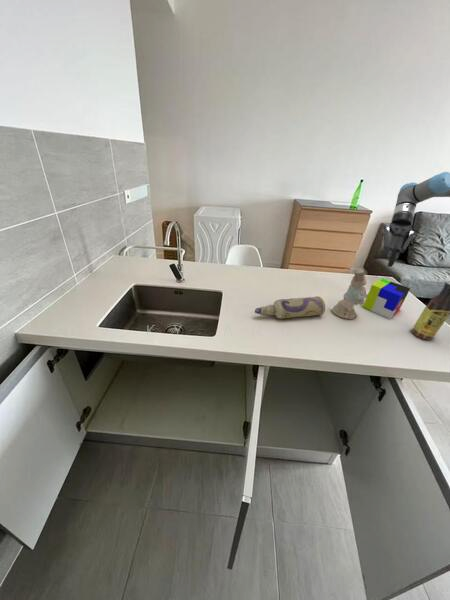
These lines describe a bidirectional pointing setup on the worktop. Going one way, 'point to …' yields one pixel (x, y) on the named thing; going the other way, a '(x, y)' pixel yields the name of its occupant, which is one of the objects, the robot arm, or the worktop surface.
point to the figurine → (352, 296)
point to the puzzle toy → (386, 297)
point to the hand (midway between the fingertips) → (390, 265)
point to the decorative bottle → (294, 307)
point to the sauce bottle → (433, 314)
